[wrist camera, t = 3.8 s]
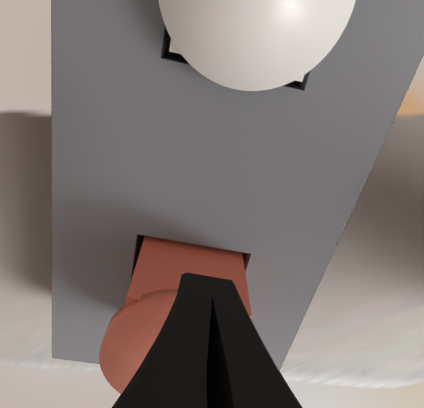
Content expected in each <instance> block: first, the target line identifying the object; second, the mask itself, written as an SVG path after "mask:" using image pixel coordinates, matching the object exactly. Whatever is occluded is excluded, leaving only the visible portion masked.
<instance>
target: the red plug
mask: <svg viewBox="0 0 424 408" xmlns="http://www.w3.org/2000/svg"><path fill="white" fill-rule="evenodd" d="M186 272H188V273H193V274H199V275H205V276H211V277H217V278H222V279H228V280H232V281H233V282H234V284H235V286H236V288H237V290H238V293H239V295H240V297H241V299H242V301H243V304H244V306H245V308H246V310H247V312H248V314H249V316H250V318H251V317H252V314H251V307H250V301H249V294H248V287H247V281H246V274H245V268H244V261H243V254H242V252H238V251H232V250H226V249H220V248H214V247H209V246H203V245H197V244H191V243H185V242H179V241H174V240H168V239H162V238H156V237H150V236H145V237H144V240H143V244H142V247H141V250H140V253H139V257H138V260H137V263H136V267H135V270H134V273H133V276H132V280H131V283H130V286H129V290H128V293H127V296H126V303H125V304H124V305H123V306H122V307H121V308H120V309H119V310H118V311H117V312H116V313H115V314H114V315H113V317H112V318H111V320H110V322H109V324H108V326H107V329H106V332H105V335H104V338H103V341H102V344H101V347H100V352H99V362H100V367H101V370H102V372H103V374H104V376H105V378H106V379H107V381H108V382H109V383H110V385H111V386H112V387H113V388H114V389H115V390H117V391H118V392H119V393H120V394H122V392H123V391H124V390H125V388H126V387H127V385H128V384H129V382H130V381H131V379H132V377H133V376H134V374H135V373H136V371H137V370H138V368H139V367H140V365H141V363H142V362H143V360H144V358H145V357H146V355H147V353H148V351H149V350H150V348H151V346H152V345H153V343H154V341H155V340H156V338H157V336H158V334H159V332H160V330H161V328H162V326H163V324H164V322H165V320H166V318H167V316H168V314H169V312H170V310H171V308H172V305H173V303H174V301H175V298H176V295H177V291H178V287H179V283H180V279H181V275H182V274H184V273H186Z"/></svg>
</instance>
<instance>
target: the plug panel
mask: <svg viewBox="0 0 424 408" xmlns="http://www.w3.org/2000/svg"><path fill="white" fill-rule="evenodd" d="M51 3H52V4H51V13H52V17H51V18H52V19H51V24H52V26H51V33H52V34H51V36H52V358H57V359H65V360H73V361H80V362H88V363H96V364H100V362H99V352H100V347H101V344H102V341H103V338H104V335H105V332H106V329H107V326H108V324H109V322H110V320H111V318H112V317H113V315H114V314H115V313H116V312H117V311H118V310H119V309H120V308H121V307H122V306H123V305H124V304H125V303H126V296H127V293H128V290H129V286H130V283H131V280H132V276H133V273H134V270H135V267H136V263H137V260H138V257H139V253H140V250H141V247H142V244H143V240H144V237H145V236H150V237H156V238H162V239H168V240H174V241H179V242H185V243H191V244H197V245H203V246H209V247H214V248H220V249H226V250H232V251H238V252H242V254H243V261H244V268H245V274H246V281H247V287H248V294H249V301H250V307H251V314H252V317H251V320H252V322H253V324H254V326H255V328H256V330H257V332H258V334H259V336H260V338H261V339H262V341H263V343H264V345H265V347H266V349H267V350H268V352H269V354H270V356H271V358H272V359H273V361H274V363H275V365H276V366H277V368H278V370H279V371H280V369H281V366H282V364H283V362H284V360H285V358H286V355H287V353H288V351H289V349H290V347H291V345H292V342H293V340H294V338H295V336H296V334H297V331H298V329H299V327H300V325H301V323H302V320H303V318H304V316H305V314H306V312H307V309H308V307H309V305H310V303H311V301H312V298H313V296H314V294H315V292H316V290H317V287H318V285H319V283H320V281H321V279H322V277H323V274H324V272H325V270H326V268H327V266H328V263H329V261H330V259H331V257H332V255H333V252H334V250H335V248H336V246H337V244H338V241H339V239H340V237H341V235H342V233H343V230H344V228H345V226H346V224H347V222H348V219H349V217H350V215H351V213H352V211H353V209H354V206H355V204H356V202H357V200H358V198H359V195H360V193H361V191H362V189H363V187H364V184H365V182H366V180H367V178H368V176H369V173H370V171H371V169H372V167H373V165H374V162H375V160H376V158H377V156H378V154H379V152H380V149H381V147H382V145H383V143H384V141H385V138H386V136H387V134H388V132H389V130H390V127H391V125H392V123H393V121H394V119H395V116H396V114H397V112H398V110H399V108H400V105H401V103H402V101H403V99H404V97H405V94H406V92H407V90H408V88H409V86H410V83H411V81H412V79H413V77H414V75H415V72H416V70H417V68H418V66H419V64H420V62H421V59H422V57H423V55H424V0H356V1H355V4H354V8H353V11H352V13H351V16H350V18H349V21H348V23H347V25H346V27H345V29H344V31H343V33H342V34H341V36H340V38H339V39H338V41H337V42H336V44H335V45H334V47H333V48H332V49H331V51H330V52H329V53H328V54H327V55H326V56H325V57H324V59H323V60H322V61H321V62H319V63H318V64H317V65H316V66H315V67H314V68H313V69H311V70H310V71H309V72H307V73H306V74H305V75H304V78H303V82H300V81H296V80H294V81H293V82H291V83H288V84H286V85H283V86H281V87H277V88H273V89H269V90H262V91H243V90H236V89H232V88H228V87H225V86H222V85H220V84H218V83H215V82H213V81H211V80H210V79H208V78H206V77H205V76H203V75H202V74H200V73H199V72H198V71H197V70H196V69H194V68H193V67H192V66H191V65H190V64H189V63H188V62H187V61H186V59H185V58H184V57H183V56H182V55H181V54H178V53H174V52H169V49H170V42H171V37H170V35H169V33H168V31H167V28H166V26H165V23H164V21H163V17H162V14H161V10H160V7H159V0H51Z"/></svg>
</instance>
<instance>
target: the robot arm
mask: <svg viewBox="0 0 424 408" xmlns="http://www.w3.org/2000/svg"><path fill="white" fill-rule="evenodd" d="M112 408H302V406H301V405H300V403H299V402H298V400H297V399H296V397H295V396H294V394H293V393H292V391H291V389H290V388H289V386H288V384H287V383H286V381H285V380H284V378H283V376H282V375H281V373H280V371H279V370H278V368H277V366H276V365H275V363H274V361H273V359H272V358H271V356H270V354H269V352H268V350H267V349H266V347H265V345H264V343H263V341H262V339H261V338H260V336H259V334H258V332H257V330H256V328H255V326H254V324H253V322H252V320H251V318H250V316H249V314H248V312H247V310H246V308H245V306H244V304H243V301H242V299H241V297H240V295H239V293H238V290H237V288H236V286H235V284H234V282H233V281H232V280H228V279H222V278H217V277H211V276H205V275H199V274H193V273H188V272H186V273H184V274H182V275H181V279H180V283H179V287H178V291H177V295H176V298H175V301H174V303H173V305H172V308H171V310H170V312H169V314H168V316H167V318H166V320H165V322H164V324H163V326H162V328H161V330H160V332H159V334H158V336H157V338H156V340H155V341H154V343H153V345H152V346H151V348H150V350H149V351H148V353H147V355H146V357H145V358H144V360H143V362H142V363H141V365H140V367H139V368H138V370H137V371H136V373H135V374H134V376H133V377H132V379H131V381H130V382H129V384H128V385H127V387H126V388H125V390H124V391H123V392H122V394H121V395H120V397H119V398H118V400H117V401H116V403H115V404H114V405H113V407H112Z"/></svg>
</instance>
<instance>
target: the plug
mask: <svg viewBox="0 0 424 408" xmlns="http://www.w3.org/2000/svg"><path fill="white" fill-rule="evenodd" d="M355 1H356V0H159V7H160V10H161V14H162V17H163V21H164V23H165V26H166V28H167V31H168V33H169V35H170V37H171V42H170V49H169V52H174V53H178V54H181V55H182V56H183V57H184V58H185V59H186V61H187V62H188V63H189V64H190V65H191V66H192V67H193V68H194V69H196V70H197V71H198V72H199V73H200V74H202V75H203V76H205V77H206V78H208V79H210V80H211V81H213V82H215V83H218V84H220V85H222V86H225V87H228V88H232V89H236V90H243V91H262V90H269V89H273V88H277V87H281V86H283V85H286V84H288V83H291V82H293V81H294V80H296V81H300V82H303V78H304V75H305V74H306V73H307V72H309V71H310V70H311V69H313V68H314V67H315V66H316V65H317V64H318V63H319V62H321V61H322V60H323V59H324V57H325V56H326V55H327V54H328V53H329V52H330V51H331V49H332V48H333V47H334V45H335V44H336V42H337V41H338V39H339V38H340V36H341V34H342V33H343V31H344V29H345V27H346V25H347V23H348V21H349V18H350V16H351V13H352V11H353V8H354V4H355Z"/></svg>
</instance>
